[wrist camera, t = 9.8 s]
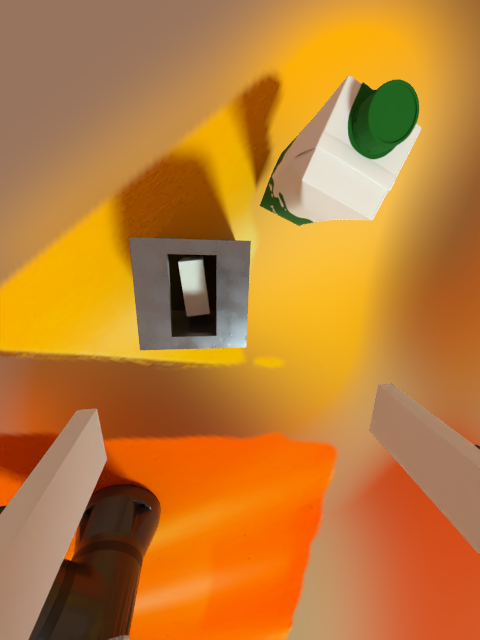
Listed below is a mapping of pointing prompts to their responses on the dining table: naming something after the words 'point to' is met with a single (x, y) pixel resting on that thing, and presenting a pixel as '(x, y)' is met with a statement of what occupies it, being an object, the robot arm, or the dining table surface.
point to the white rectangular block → (194, 285)
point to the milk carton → (346, 155)
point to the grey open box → (174, 325)
